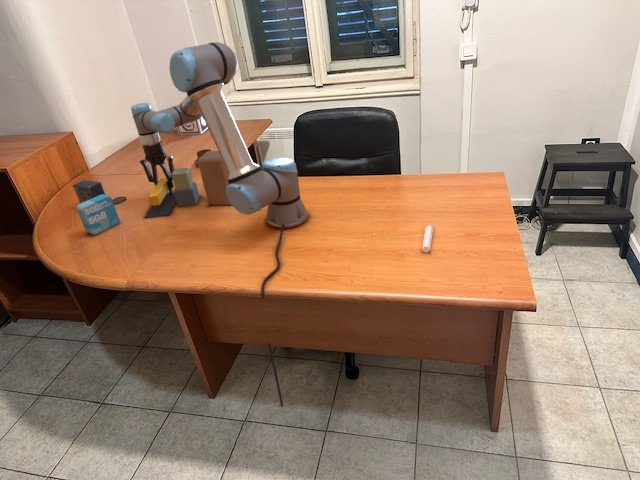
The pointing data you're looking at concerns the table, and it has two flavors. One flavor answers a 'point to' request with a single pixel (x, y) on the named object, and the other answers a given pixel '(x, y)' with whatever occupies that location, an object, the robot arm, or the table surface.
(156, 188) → the bar
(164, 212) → the mat
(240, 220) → the table surface
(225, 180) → the block
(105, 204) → the data package
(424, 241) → the marker
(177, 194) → the tower
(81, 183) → the small box
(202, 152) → the cup and saucer
